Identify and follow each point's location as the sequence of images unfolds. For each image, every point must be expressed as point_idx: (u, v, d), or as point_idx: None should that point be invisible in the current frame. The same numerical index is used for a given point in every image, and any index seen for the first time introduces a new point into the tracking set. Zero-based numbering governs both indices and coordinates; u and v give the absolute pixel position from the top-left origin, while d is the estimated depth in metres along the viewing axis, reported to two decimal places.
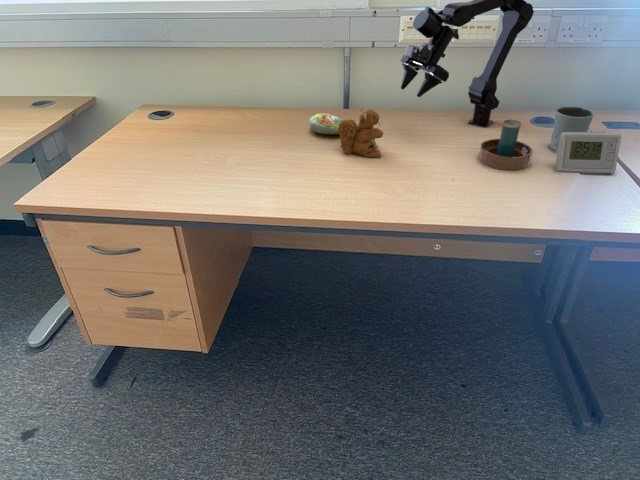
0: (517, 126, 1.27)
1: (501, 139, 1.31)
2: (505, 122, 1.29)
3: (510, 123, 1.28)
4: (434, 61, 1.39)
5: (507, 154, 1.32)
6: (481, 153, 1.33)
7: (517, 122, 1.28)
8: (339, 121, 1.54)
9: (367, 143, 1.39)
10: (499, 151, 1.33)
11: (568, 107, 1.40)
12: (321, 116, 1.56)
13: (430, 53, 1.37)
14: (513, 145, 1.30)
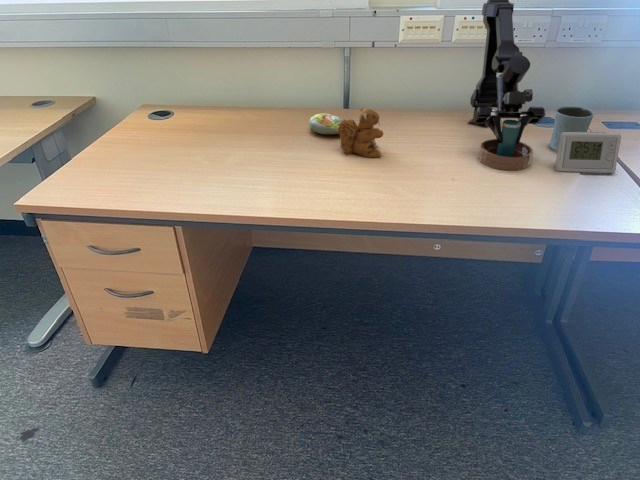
0: (517, 126, 1.27)
1: None
2: (505, 122, 1.29)
3: (510, 123, 1.28)
4: None
5: (507, 154, 1.32)
6: (481, 153, 1.33)
7: (517, 122, 1.28)
8: (339, 121, 1.54)
9: (367, 143, 1.39)
10: (499, 151, 1.33)
11: (568, 107, 1.40)
12: (321, 116, 1.56)
13: None
14: (513, 145, 1.30)
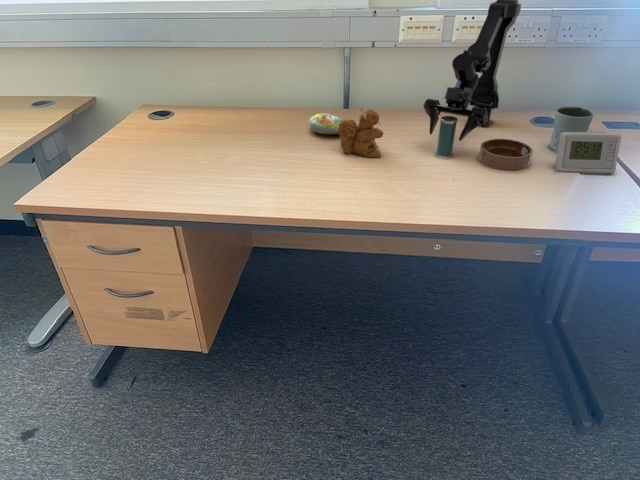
0: (449, 122, 1.32)
1: (439, 133, 1.37)
2: (443, 117, 1.35)
3: (445, 119, 1.34)
4: (467, 105, 1.36)
5: (442, 149, 1.37)
6: (481, 153, 1.33)
7: (453, 119, 1.33)
8: (339, 121, 1.54)
9: (367, 143, 1.39)
10: None
11: (568, 107, 1.40)
12: (321, 116, 1.56)
13: None
14: (448, 140, 1.35)
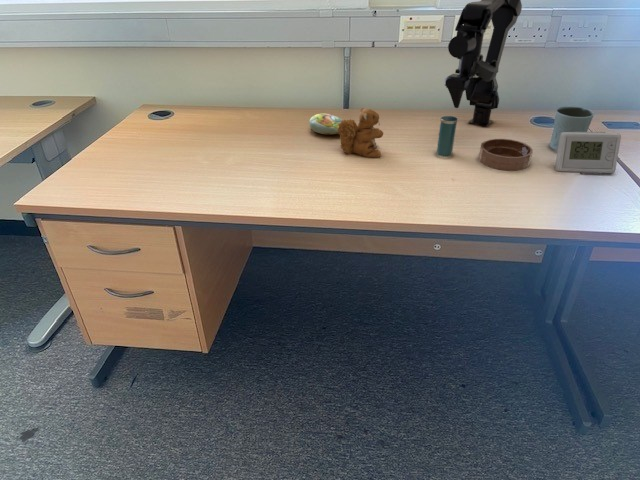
0: (449, 122, 1.32)
1: (439, 133, 1.37)
2: (443, 117, 1.35)
3: (445, 119, 1.34)
4: None
5: (442, 149, 1.37)
6: (481, 153, 1.33)
7: (453, 119, 1.33)
8: (339, 121, 1.54)
9: (367, 143, 1.39)
10: None
11: (568, 107, 1.40)
12: (321, 116, 1.56)
13: None
14: (448, 140, 1.35)
